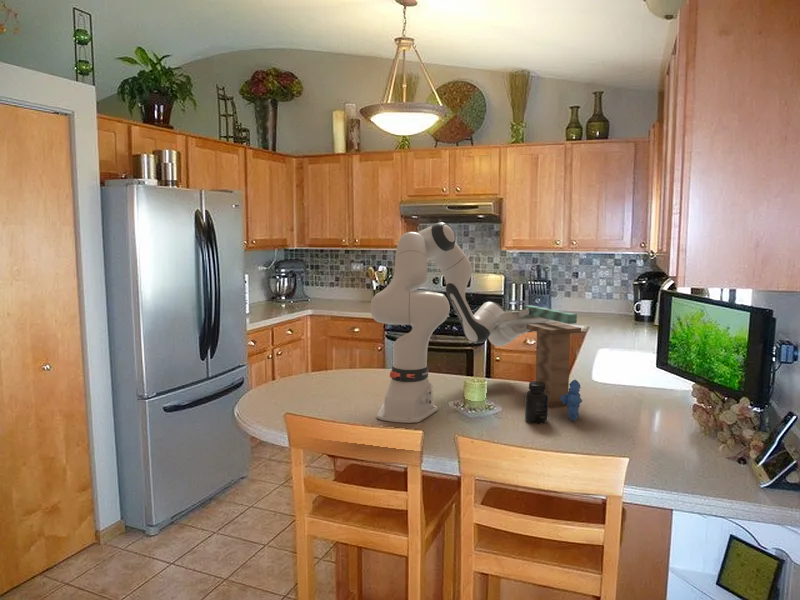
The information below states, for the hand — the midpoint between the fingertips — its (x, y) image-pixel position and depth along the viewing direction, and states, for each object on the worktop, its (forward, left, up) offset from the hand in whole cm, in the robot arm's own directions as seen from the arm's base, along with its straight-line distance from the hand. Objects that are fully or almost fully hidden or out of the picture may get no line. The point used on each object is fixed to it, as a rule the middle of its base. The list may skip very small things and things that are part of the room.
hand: (534, 309), depth 211 cm
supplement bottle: (-33, -4, -30) cm, 45 cm away
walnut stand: (-9, -7, -30) cm, 32 cm away
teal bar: (-6, -5, -2) cm, 8 cm away
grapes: (-27, -14, -30) cm, 43 cm away
